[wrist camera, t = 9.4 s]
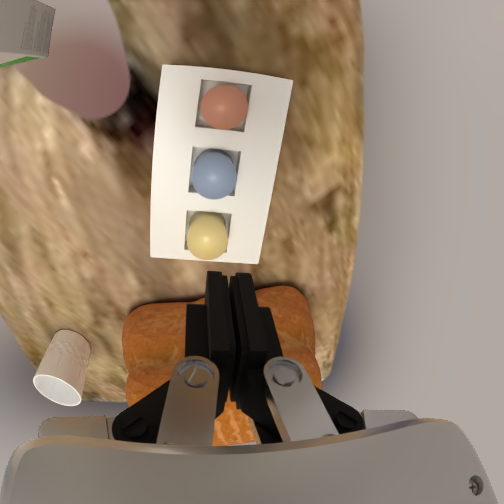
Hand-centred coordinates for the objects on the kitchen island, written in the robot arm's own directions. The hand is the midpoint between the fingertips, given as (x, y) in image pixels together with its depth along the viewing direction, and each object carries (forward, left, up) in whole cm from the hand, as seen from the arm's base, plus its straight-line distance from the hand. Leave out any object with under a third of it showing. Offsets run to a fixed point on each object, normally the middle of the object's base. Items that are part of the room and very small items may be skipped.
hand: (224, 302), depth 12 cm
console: (0, 0, -23) cm, 23 cm away
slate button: (0, 0, -21) cm, 21 cm away
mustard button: (+7, 0, -21) cm, 22 cm away
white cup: (+30, -21, -23) cm, 43 cm away
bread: (+25, +3, -23) cm, 34 cm away
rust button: (-6, 0, -21) cm, 22 cm away
